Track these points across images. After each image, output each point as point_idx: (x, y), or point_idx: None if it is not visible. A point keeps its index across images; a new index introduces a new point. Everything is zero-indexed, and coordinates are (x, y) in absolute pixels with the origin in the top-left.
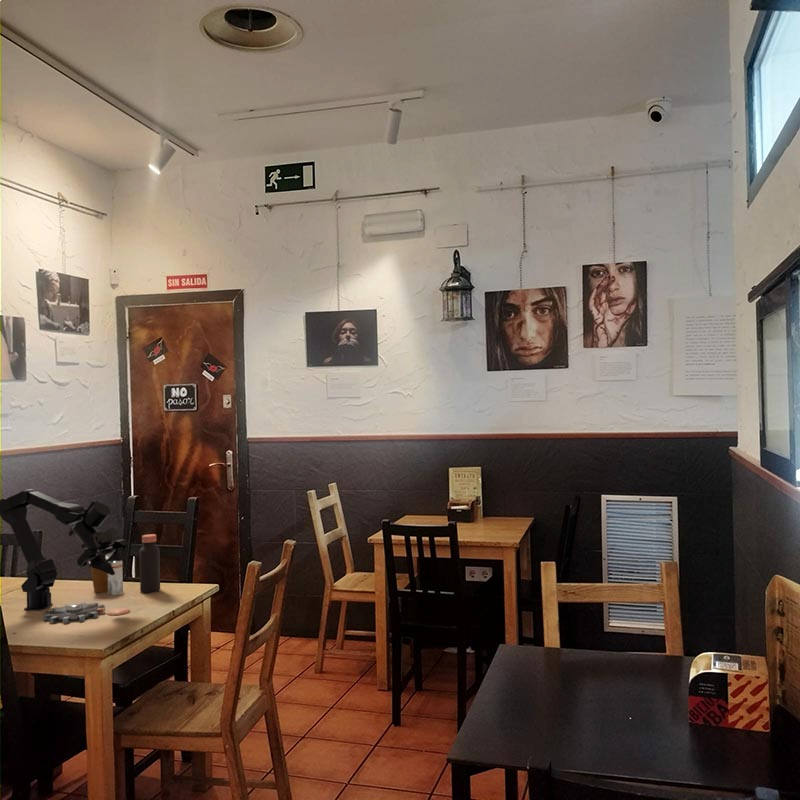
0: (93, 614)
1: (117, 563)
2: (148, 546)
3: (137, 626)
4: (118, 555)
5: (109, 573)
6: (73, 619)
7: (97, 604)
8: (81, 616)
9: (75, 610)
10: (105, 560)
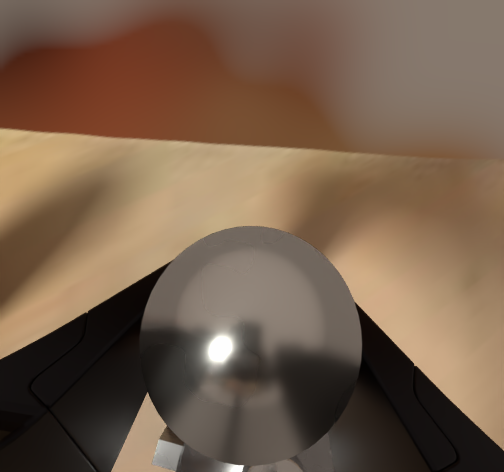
0: None
1: (316, 252)
2: None
3: (358, 165)
4: (6, 406)
5: None
6: None
7: (165, 436)
8: None
9: (301, 464)
10: (466, 456)
